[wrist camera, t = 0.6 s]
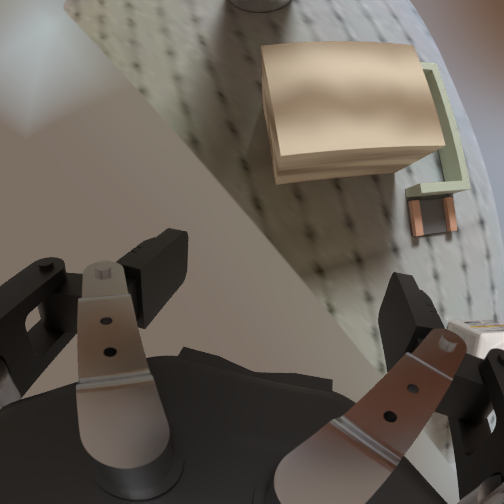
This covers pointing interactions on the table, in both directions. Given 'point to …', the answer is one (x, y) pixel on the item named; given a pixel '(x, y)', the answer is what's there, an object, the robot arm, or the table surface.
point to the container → (479, 335)
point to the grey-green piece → (453, 164)
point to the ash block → (346, 109)
